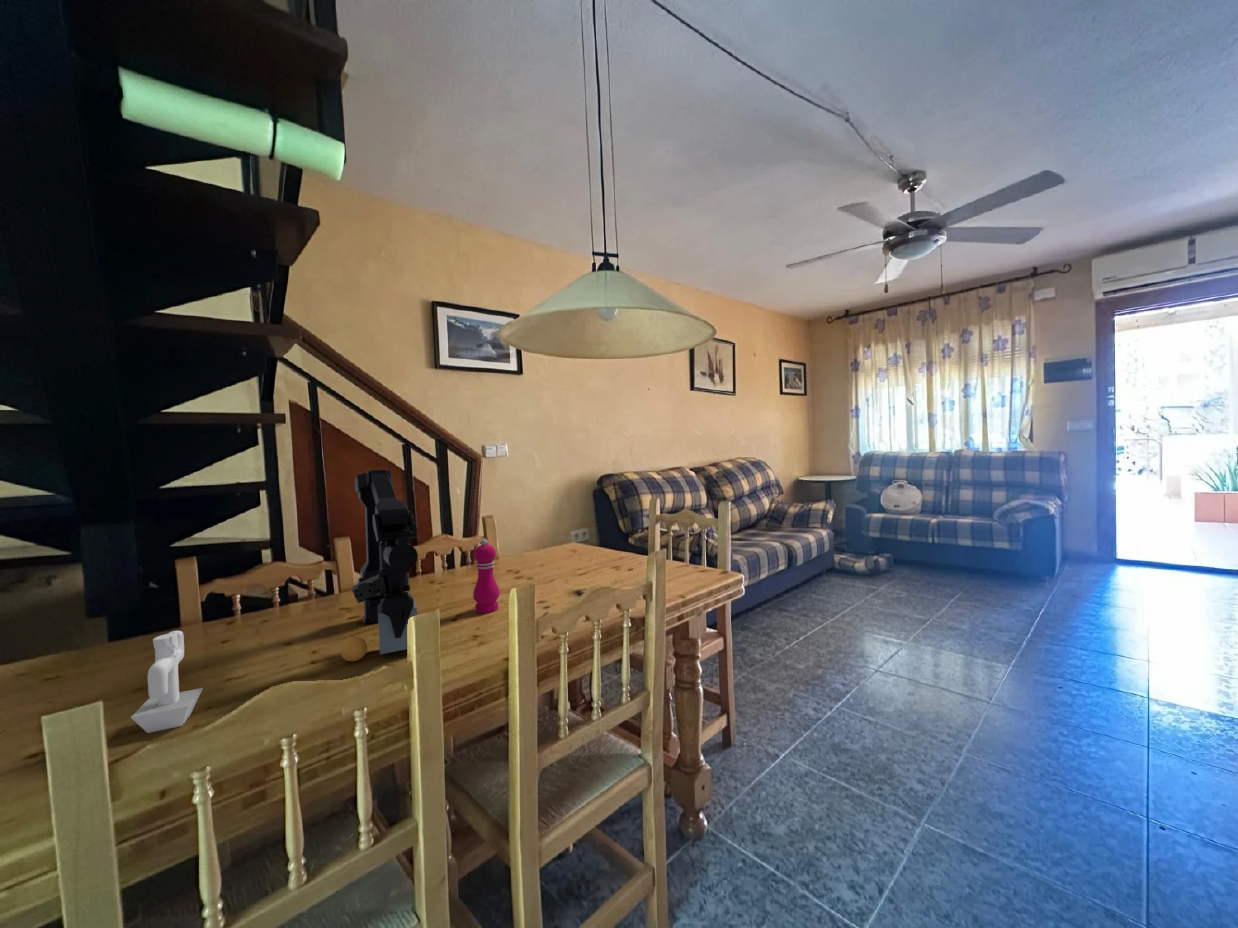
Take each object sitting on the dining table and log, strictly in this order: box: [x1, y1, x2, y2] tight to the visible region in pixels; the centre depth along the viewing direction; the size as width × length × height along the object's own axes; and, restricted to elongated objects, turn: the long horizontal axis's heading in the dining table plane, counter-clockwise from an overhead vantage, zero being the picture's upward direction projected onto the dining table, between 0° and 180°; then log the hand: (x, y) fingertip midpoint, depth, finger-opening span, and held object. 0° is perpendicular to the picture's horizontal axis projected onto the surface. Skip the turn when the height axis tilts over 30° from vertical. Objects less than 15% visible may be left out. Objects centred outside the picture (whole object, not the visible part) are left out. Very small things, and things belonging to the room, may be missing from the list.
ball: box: [340, 636, 368, 662], centre depth 107 cm, size 5×5×5 cm
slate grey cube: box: [377, 599, 418, 655], centre depth 111 cm, size 8×8×9 cm
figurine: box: [130, 630, 204, 734], centre depth 83 cm, size 7×9×15 cm
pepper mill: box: [472, 538, 500, 614], centre depth 140 cm, size 7×7×20 cm
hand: (397, 632), depth 111 cm, fingers closed on slate grey cube, 8 cm apart
